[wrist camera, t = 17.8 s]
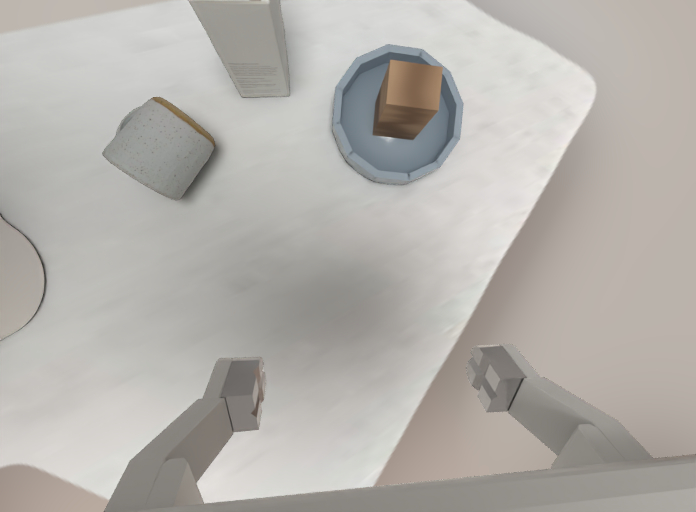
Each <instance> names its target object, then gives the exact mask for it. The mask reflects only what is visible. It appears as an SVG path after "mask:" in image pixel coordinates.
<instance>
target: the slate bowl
mask: <svg viewBox="0 0 696 512" xmlns="http://www.w3.org/2000/svg"><path fill="white" fill-rule="evenodd" d="M390 60H397V61H404V62H411V63H418V64H425V65H432V66H440V67H443V71H442V81H441V92H440V102H439V111H438V112H437V113H436V114H435V115H434V116H433V118H432V119H431V120H430V121H429V122H428V123H427V125H426V126H425V127H424V128H423V129H422V130H421V132H420V133H419V134H418V135H417V136H416V137H415V139H414V140H407V139H399V138H391V137H382V136H374V135H373V124H374V113H375V102H376V99H377V96H378V93H379V90H380V87H381V85H382V82H383V79H384V76H385V73H386V71H387V68H388V65H389V62H390ZM463 105H464V104H463V102H462V99H461V97H460V94H459V92H458V89H457V87H456V85H455V82H454V80H453V77H452V75H451V72H450V71H449V70H448V69H447V68H445V67H444V66H443V65H442V64H440V63H439V62H438V61H437V60H435V59H434V58H433V57H432V56H430V55H429V54H428V53H427V52H425V51H424V50H422V49H417V48H411V47H404V46H397V45H390V44H387V45H385V46H383V47H381V48H378V49H376V50H374V51H371V52H369V53H367V54H364V55H362V56H360V57H357V58H356V59H355V60H354V62H353V63H352V65H351V66H350V67H349V69H348V70H347V72H346V73H345V75H344V76H343V77H342V79H341V80H340V82H339V83H338V85H337V86H336V89H335V101H334V113H333V125H332V131H333V133H334V135H335V139H336V142H337V145H338V147H339V150H340V151H341V153H342V155H343V157H344V158H345V160H346V161H347V162H348V163H349V165H350V166H351V167H352V168H353V169H354V170H356V171H357V172H358V173H359V174H361V175H363V176H364V177H366V178H368V179H370V180H372V181H375V182H378V183H383V184H393V185H396V184H407V183H409V182H412V181H414V180H417V179H419V178H421V177H422V176H424V175H426V174H429V173H431V172H433V171H435V170H436V169H438V168H439V167H441V165H442V164H443V162H444V161H445V160H446V158H447V157H448V155H449V154H450V152H451V151H452V150H453V148H454V147H455V145H456V144H457V142H458V141H459V140H460V134H461V124H462V114H463Z"/></svg>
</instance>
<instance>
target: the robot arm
mask: <svg viewBox="0 0 696 512" xmlns="http://www.w3.org/2000/svg"><path fill="white" fill-rule="evenodd" d="M43 292H44V272H43V267H42V264H41V261H40V258H39V256H38V254H37V252H36V250H35V249H34V247H33V246H32V244H31V243H30V242H29V241H28V240H27V239H26V238H25V237H24V236H23V235H22V234H21V233H20V232H19V231H18V230H16V229H15V228H13V227H12V226H11V225H9V224H8V223H7V222H5V221H4V220H3V219H2V218H1V216H0V340H2V339H4V338H5V337H7V336H9V335H11V334H13V333H15V332H16V331H18V330H19V329H21V328H22V327H23V326H24V325H25V324H27V323H28V322H29V320H30V319H31V318H32V317H33V315H34V314H35V312H36V311H37V309H38V307H39V305H40V303H41V300H42V296H43ZM471 354H472V356H473V357H472V358H471V359H470V360H469V361H468V363H467V367H466V369H467V376H468V379H469V381H470V383H471V385H472V386H473V387H474V388H476V389H477V390H478V398H479V399H480V402H481V403H482V405H483V407H484V409H485V410H486V412H503V411H508V413H509V414H510V415H512V416H513V417H514V418H515V419H516V420H517V421H518V422H520V423H521V424H522V425H523V426H524V427H525V428H526V429H528V430H529V431H530V432H531V433H532V434H534V435H535V436H536V437H537V438H538V439H539V440H540V441H541V442H543V443H544V444H545V445H546V446H547V447H548V448H550V449H551V450H552V451H553V452H554V453H555V454H556V455H558V456H557V458H556V459H555V461H554V462H553V464H552V466H551V469H545V470H535V471H525V472H514V473H504V474H494V475H484V476H474V477H464V478H454V479H444V480H434V481H425V482H414V483H404V484H395V485H385V486H374V487H365V488H355V489H345V490H335V491H325V492H315V493H305V494H295V495H285V496H275V497H265V498H256V499H246V500H236V501H226V502H216V503H206V504H204V502H203V499H202V497H201V494H200V492H199V489H198V487H197V484H196V483H197V481H198V480H199V479H200V477H201V476H202V475H203V473H204V472H205V471H206V469H207V468H208V467H209V465H210V464H211V463H212V461H213V460H214V459H215V457H216V456H217V455H218V454H219V452H220V451H221V450H222V448H223V447H224V446H225V444H226V443H227V442H228V440H229V439H230V438H231V436H232V435H233V432H241V431H250V430H259V425H260V419H261V414H262V408H261V402H262V401H263V400H264V396H265V386H266V378H265V372H264V371H262V370H263V365H264V363H263V358H262V357H243V358H219V359H218V361H217V362H216V364H215V367H214V370H213V372H212V375H211V378H210V380H209V383H208V386H207V388H206V391H205V393H204V396H203V399H198V400H197V401H195V402H194V403H193V404H192V405H191V406H190V407H189V408H188V409H187V410H186V411H184V412H183V413H182V414H181V415H180V416H179V417H178V418H177V419H176V420H175V421H173V422H172V423H171V424H170V425H169V426H168V427H167V428H166V429H165V430H163V431H162V432H161V433H160V434H159V435H158V436H157V437H156V438H155V439H154V440H152V441H151V442H150V443H149V444H148V445H147V446H146V447H145V448H144V449H142V450H141V451H140V452H139V453H138V454H137V455H136V456H135V457H134V458H133V459H131V460H130V462H129V464H128V466H127V468H126V470H125V472H124V473H123V475H122V477H121V479H120V481H119V483H118V485H117V487H116V489H115V491H114V493H113V495H112V497H111V499H110V501H109V503H108V504H107V506H106V508H105V510H104V512H696V454H693V455H682V456H673V457H663V458H653V457H652V456H651V455H650V454H649V453H648V452H647V451H646V450H645V449H644V448H643V446H642V445H641V444H640V443H639V442H638V441H637V440H636V439H635V438H634V437H633V436H632V435H631V434H630V433H629V432H628V431H627V430H626V429H625V427H624V426H623V425H622V424H621V423H620V422H619V421H618V420H616V419H615V418H613V417H611V416H609V415H608V414H606V413H604V412H603V411H601V410H599V409H598V408H596V407H594V406H592V405H591V404H589V403H587V402H586V401H584V400H582V399H581V398H579V397H577V396H576V395H574V394H572V393H571V392H569V391H567V390H565V389H564V388H562V387H560V386H559V385H557V384H555V383H554V382H552V381H550V380H549V379H547V378H545V377H540V376H539V374H538V373H537V372H536V371H535V370H534V369H533V367H532V366H531V365H530V364H529V362H528V361H527V360H526V359H525V358H524V356H523V355H522V354H521V353H520V351H519V350H518V349H517V348H516V347H515V346H514V345H513V344H501V345H482V346H474V347H473V348H472V351H471Z"/></svg>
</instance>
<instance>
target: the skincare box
mask: <svg viewBox="0 0 696 512" xmlns="http://www.w3.org/2000/svg"><path fill="white" fill-rule="evenodd" d="M188 1H189V3H190V4H191V6H192V8H193V9H194V11H195V13H196V15H197V17H198V18H199V20H200V22H201V24H202V26H203V27H204V29H205V31H206V33H207V34H208V36H209V38H210V40H211V42H212V44H213V46H214V48H215V50H216V51H217V53H218V55H219V57H220V59H221V61H222V62H223V64H224V66H225V68H226V70H227V72H228V73H229V75H230V77H231V79H232V81H233V82H234V84H235V86H236V88H237V90H238V91H239V93H240V95H241V96H242V97H277V96H289V95H290V85H289V68H288V58H287V50H286V43H285V35H284V24H283V18H282V11H281V5H280V0H188Z"/></svg>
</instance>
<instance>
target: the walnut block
mask: <svg viewBox="0 0 696 512" xmlns="http://www.w3.org/2000/svg"><path fill="white" fill-rule="evenodd" d="M442 71H443V67H440V66H432V65H425V64H418V63H411V62H404V61H397V60H390V62H389V65H388V68H387V71H386V73H385V76H384V79H383V82H382V85H381V87H380V90H379V93H378V96H377V99H376V102H375V113H374V124H373V135H374V136H382V137H391V138H399V139H407V140H414V139H415V137H416V136H417V135H418V134H419V133H420V132H421V130H422V129H423V128H424V127H425V126H426V125H427V123H428V122H429V121H430V120H431V119H432V118H433V116H434V115H435V114H436V113H437V112H438V111H439V102H440V92H441V81H442Z"/></svg>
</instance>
